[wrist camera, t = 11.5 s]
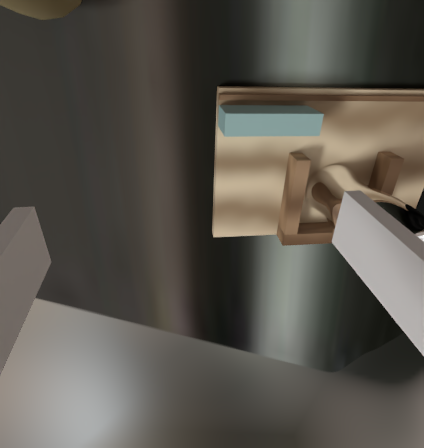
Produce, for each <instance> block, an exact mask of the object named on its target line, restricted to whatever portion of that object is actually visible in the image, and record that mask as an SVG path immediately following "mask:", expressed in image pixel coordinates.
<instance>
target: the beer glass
mask: <svg viewBox="0 0 424 448" xmlns="http://www.w3.org/2000/svg"><path fill="white" fill-rule="evenodd" d="M357 190H361V191H362V192H363V193H364V194H365V195H367V196H368V197H369V198H370V199H372V200H373V201H374V202H375V203H377V204H378V205H379V206H380V207H381V208H383V209H384V210H385V211H386V212H388V213H389V214H390V215H391V216H393V217H394V218H395V219H396V220H397V221H399V222H400V223H401V224H402V225H404V226H405V227H406V228H407V229H409V230H410V231H411V232H412V233H414V234H415V235H416V236H417V237H418V238H420V239H421V240H422V241H423V242H424V215H423V214H422V213H420V212H419V211H418V210H416V209H415V208H414V207H412V206H410V205H409V204H407V203H406V202H404V201H402V200H401V199H398V198H396V197H394V196H392V195H390V194H388V193H385V192H383V191H380V190H378V189H375V188H373V187H370V186H368V185H366V184H364V183H362V182H361V181H360V180H359V178H358V177H357V176H356V174H355V173H354V172H353V171H352V170H351V169H350V168H349V167H347V166H344V165H339V164H335V165H330V166H327V167H324V168H323V169H321V170H319V171H318V172H317V173H316V174H315V175H314V176H313V177H312V178H311V180H310V182H309V184H308V186H307V190H306V197H307V201H308V203H309V205H310V206H311V207H312V208H313V209H314V210H316V211H317V212H319V213H321V214H322V215H323V216H324V217H325V218H326V219H327V220H328V222H329V224H330V226H331V228H332V230H333V233H334V230H335V226H336V222H337V218H338V215H339V211H340V207H341V203H342V199H343V195H344V191H357Z"/></svg>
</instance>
